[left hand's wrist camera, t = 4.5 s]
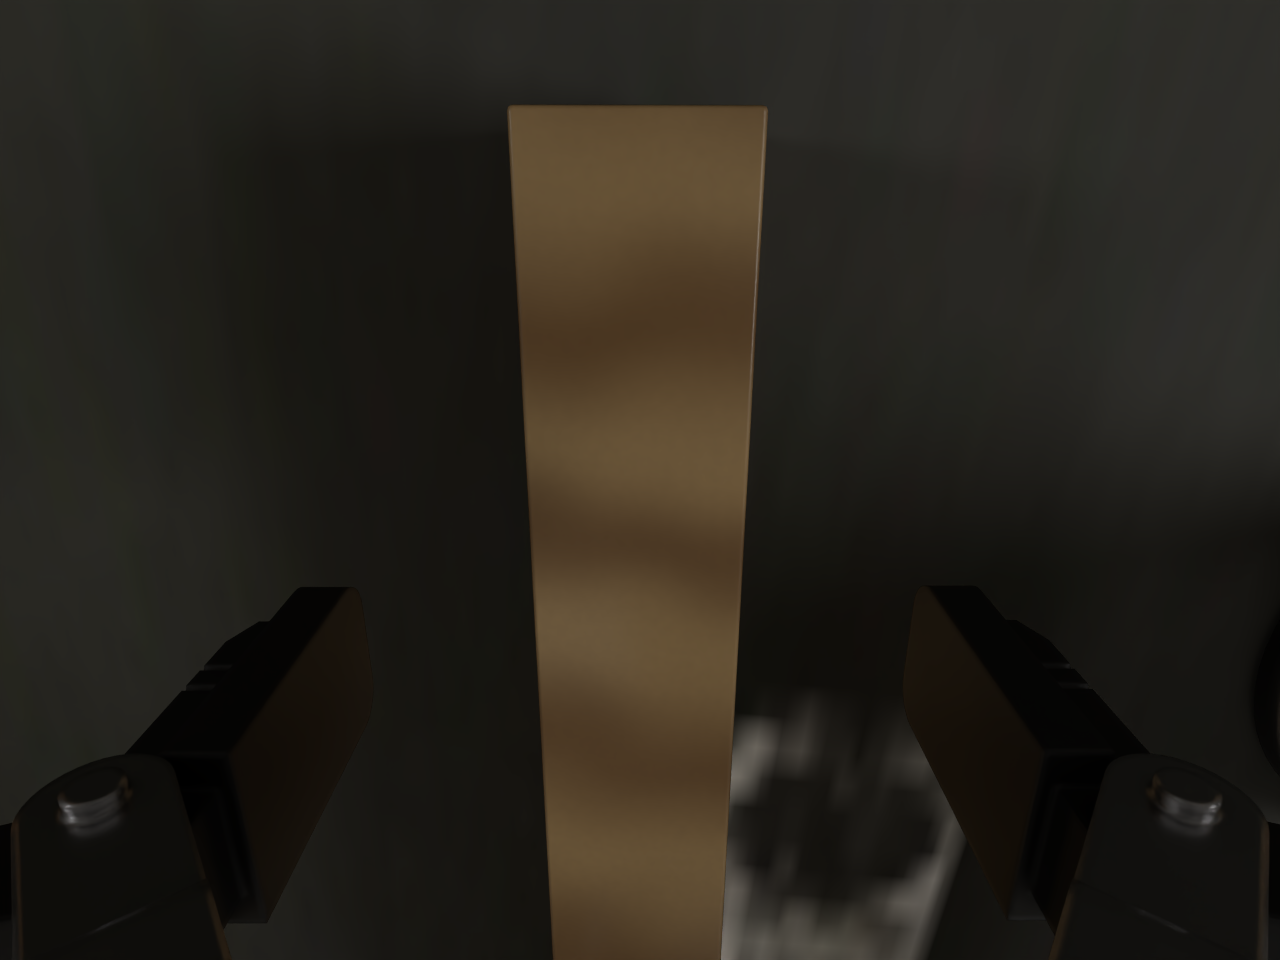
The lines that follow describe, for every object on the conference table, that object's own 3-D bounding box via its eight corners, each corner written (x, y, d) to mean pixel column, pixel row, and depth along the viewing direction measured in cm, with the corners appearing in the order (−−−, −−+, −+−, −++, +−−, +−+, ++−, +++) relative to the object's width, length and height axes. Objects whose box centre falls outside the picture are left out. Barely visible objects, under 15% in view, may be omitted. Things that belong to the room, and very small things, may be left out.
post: (555, 130, 22) (506, 103, 14) (721, 129, 22) (769, 104, 14) (592, 1216, 41) (580, 1476, 33) (681, 1216, 41) (692, 1476, 33)
